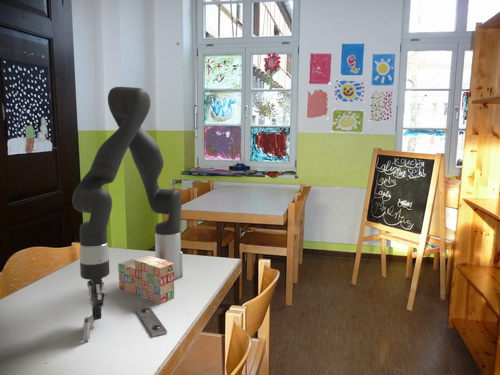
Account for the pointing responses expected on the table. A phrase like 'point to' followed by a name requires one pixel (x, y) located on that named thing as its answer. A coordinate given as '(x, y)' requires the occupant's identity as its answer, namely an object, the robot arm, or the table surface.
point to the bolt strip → (151, 321)
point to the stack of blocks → (148, 278)
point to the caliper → (88, 327)
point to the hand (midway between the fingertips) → (97, 318)
